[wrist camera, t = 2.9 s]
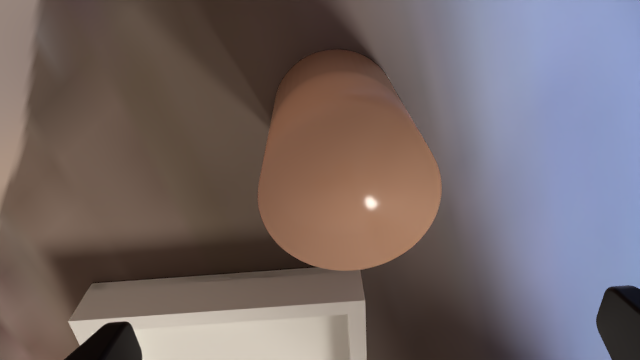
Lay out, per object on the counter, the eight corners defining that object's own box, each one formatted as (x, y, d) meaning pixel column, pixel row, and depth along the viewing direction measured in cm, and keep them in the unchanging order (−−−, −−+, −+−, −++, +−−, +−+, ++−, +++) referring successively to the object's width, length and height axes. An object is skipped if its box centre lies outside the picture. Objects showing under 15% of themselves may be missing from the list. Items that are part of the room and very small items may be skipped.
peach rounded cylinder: (396, 44, 17) (448, 105, 11) (394, 160, 19) (435, 264, 13) (266, 54, 17) (244, 120, 11) (281, 168, 19) (269, 276, 13)
